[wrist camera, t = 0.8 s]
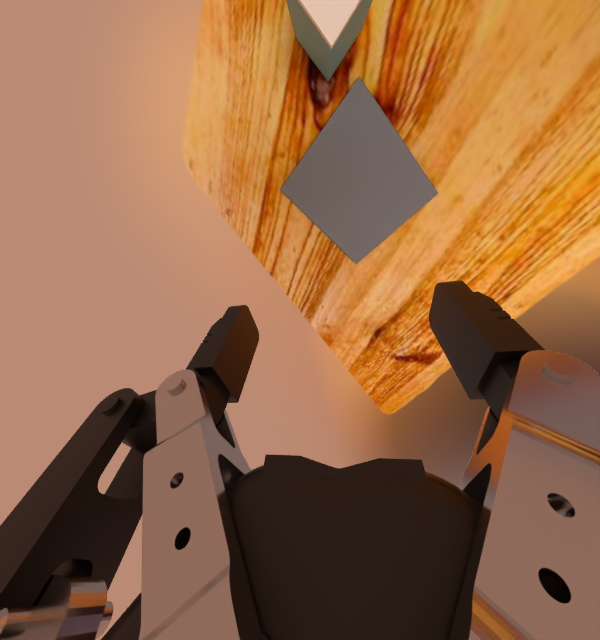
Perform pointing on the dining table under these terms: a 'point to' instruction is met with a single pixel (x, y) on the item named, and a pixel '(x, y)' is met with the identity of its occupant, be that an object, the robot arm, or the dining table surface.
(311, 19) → the block
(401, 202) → the mat
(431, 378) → the dining table surface
